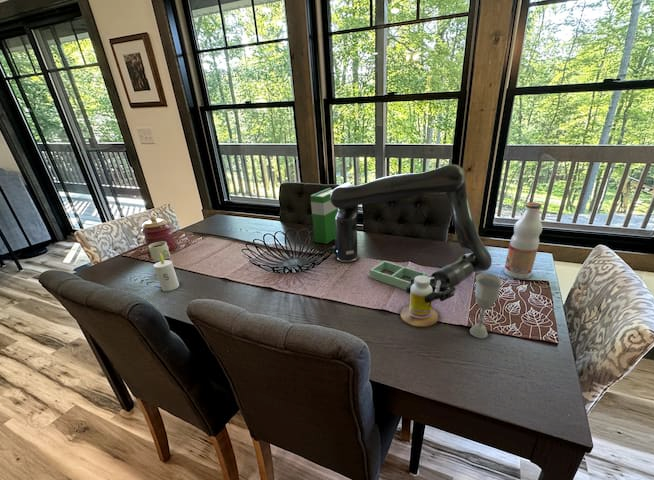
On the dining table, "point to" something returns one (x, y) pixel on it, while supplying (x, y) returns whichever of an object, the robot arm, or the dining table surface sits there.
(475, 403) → the dining table surface
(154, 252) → the character mug
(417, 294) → the supplement bottle
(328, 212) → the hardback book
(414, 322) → the coaster
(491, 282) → the chalice
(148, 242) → the kitchen canister
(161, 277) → the candle
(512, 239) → the fruit juice
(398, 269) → the holder
